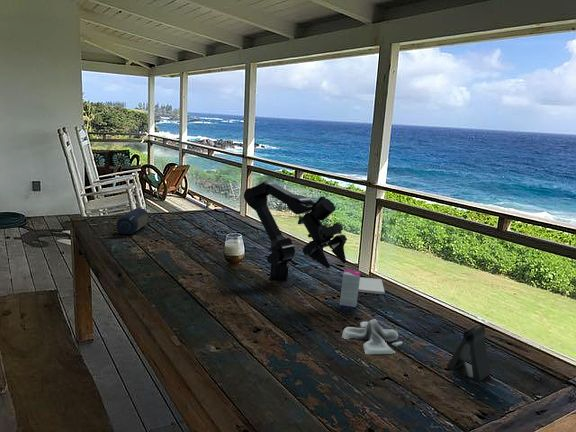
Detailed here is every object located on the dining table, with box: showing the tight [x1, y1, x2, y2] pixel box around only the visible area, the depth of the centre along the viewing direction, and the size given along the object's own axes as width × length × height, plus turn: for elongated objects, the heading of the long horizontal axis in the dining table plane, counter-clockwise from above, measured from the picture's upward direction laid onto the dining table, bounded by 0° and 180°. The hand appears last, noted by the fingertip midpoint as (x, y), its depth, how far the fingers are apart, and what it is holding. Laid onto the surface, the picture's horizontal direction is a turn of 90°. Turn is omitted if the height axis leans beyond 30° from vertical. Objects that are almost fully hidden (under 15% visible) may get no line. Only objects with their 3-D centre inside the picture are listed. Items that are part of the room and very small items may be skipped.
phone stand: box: [446, 324, 492, 383], centre depth 121 cm, size 9×6×12 cm, turn 42°
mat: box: [358, 276, 386, 295], centre depth 180 cm, size 14×14×1 cm
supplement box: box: [339, 269, 361, 309], centre depth 159 cm, size 6×6×12 cm
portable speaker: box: [115, 207, 150, 235], centre depth 237 cm, size 25×10×10 cm, turn 178°
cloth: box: [341, 318, 403, 355], centre depth 137 cm, size 22×19×6 cm
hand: (337, 265), depth 162 cm, fingers open, 9 cm apart
